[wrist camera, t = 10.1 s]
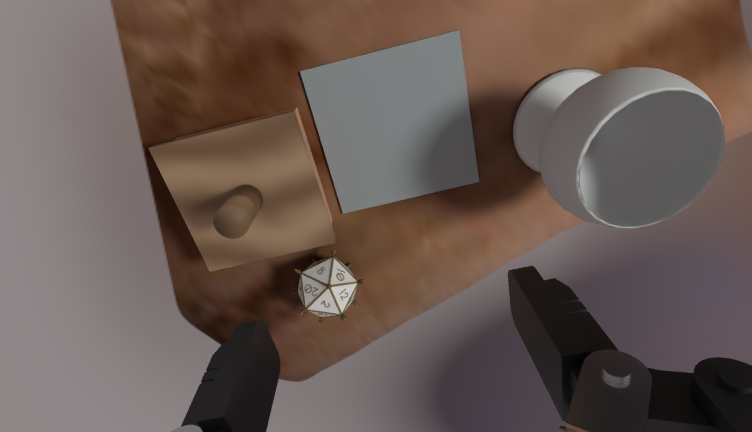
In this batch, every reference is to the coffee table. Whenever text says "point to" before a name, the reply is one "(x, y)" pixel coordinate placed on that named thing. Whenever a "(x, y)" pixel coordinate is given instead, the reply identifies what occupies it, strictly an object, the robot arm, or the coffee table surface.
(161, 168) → the lid
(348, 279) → the game die
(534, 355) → the robot arm
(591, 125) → the chalice
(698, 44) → the coffee table surface
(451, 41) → the mat
